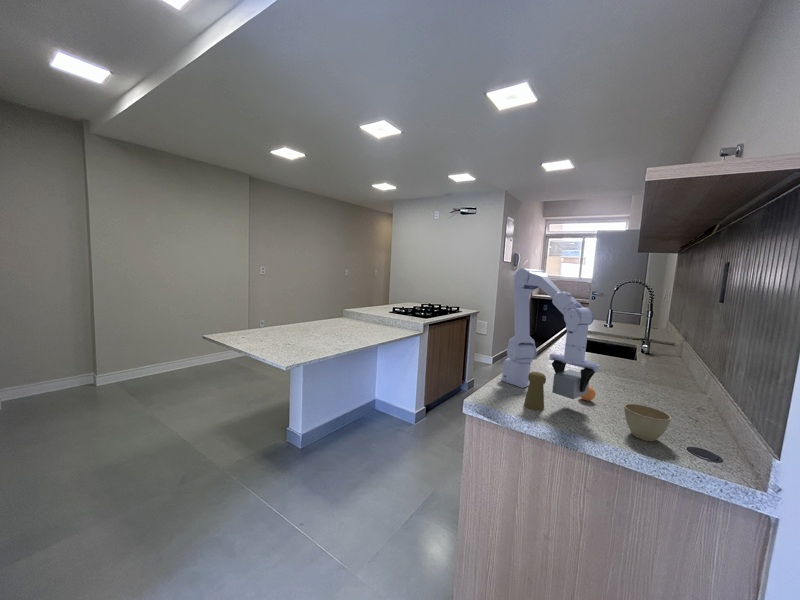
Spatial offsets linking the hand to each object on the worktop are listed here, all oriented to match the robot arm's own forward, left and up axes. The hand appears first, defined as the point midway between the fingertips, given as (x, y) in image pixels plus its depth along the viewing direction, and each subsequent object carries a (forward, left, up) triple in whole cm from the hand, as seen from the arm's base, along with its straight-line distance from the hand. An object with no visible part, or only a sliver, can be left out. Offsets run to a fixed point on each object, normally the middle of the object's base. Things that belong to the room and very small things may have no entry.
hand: (570, 387), depth 102 cm
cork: (-7, -9, -7) cm, 13 cm away
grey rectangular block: (0, 0, -2) cm, 2 cm away
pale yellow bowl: (+20, 0, -7) cm, 21 cm away
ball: (0, +14, -4) cm, 14 cm away
